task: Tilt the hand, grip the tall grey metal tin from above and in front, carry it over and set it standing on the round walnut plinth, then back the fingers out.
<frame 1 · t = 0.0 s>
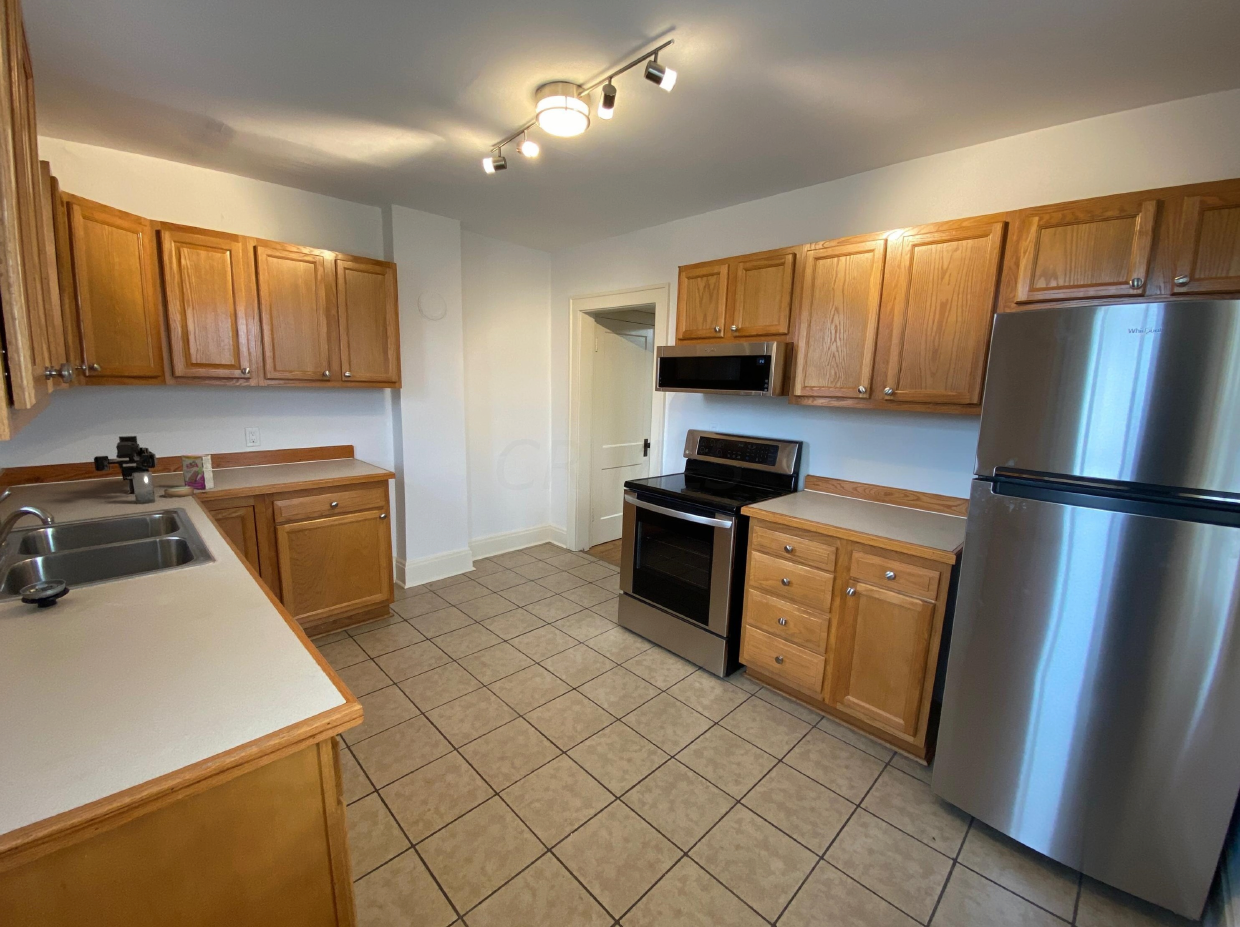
hand: (121, 465, 209), 17 cm above the counter, tool horizontal, fingers open, 9 cm apart
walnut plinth: (179, 495, 229), on the counter
grey tin: (145, 502, 215), on the counter
candy bar box: (199, 488, 244), on the counter
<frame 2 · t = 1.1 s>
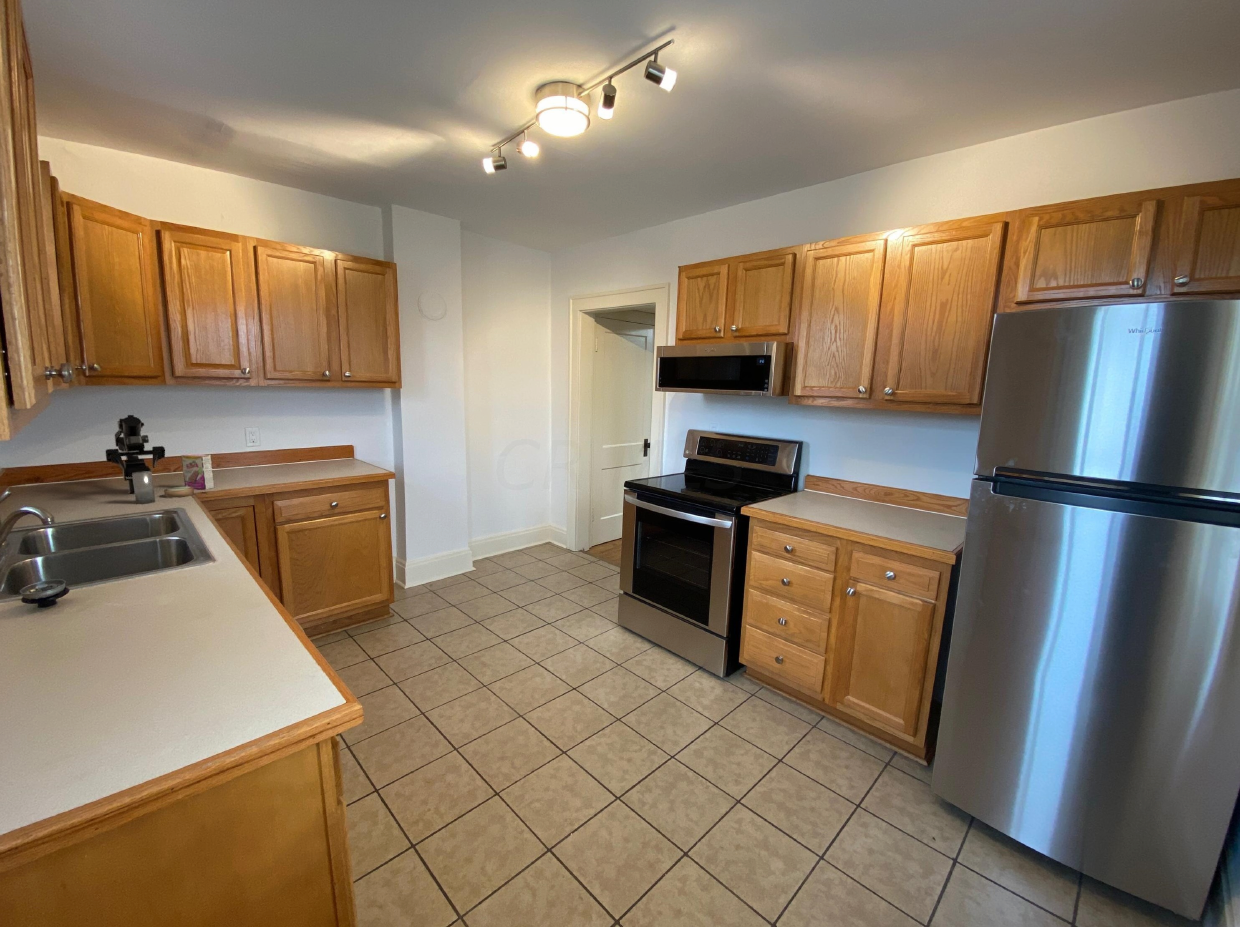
hand: (139, 468, 218), 14 cm above the counter, tool tilted 45°, fingers open, 9 cm apart
nothing on the counter moved.
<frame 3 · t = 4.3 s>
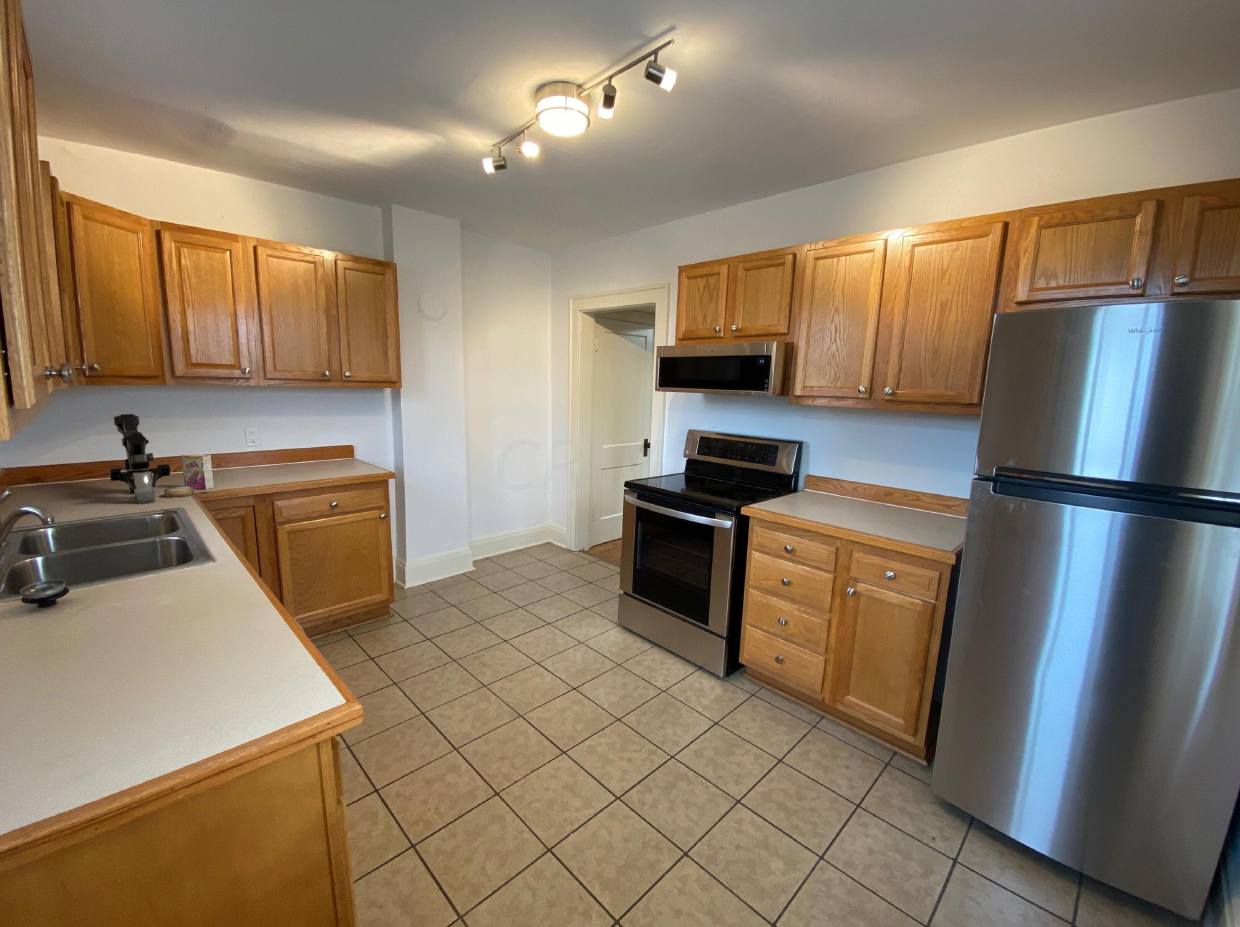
hand: (144, 487, 213), 7 cm above the counter, tool tilted 45°, fingers closed on grey tin, 6 cm apart
grey tin: (145, 502, 215), on the counter, touching gripper
everything else where it was.
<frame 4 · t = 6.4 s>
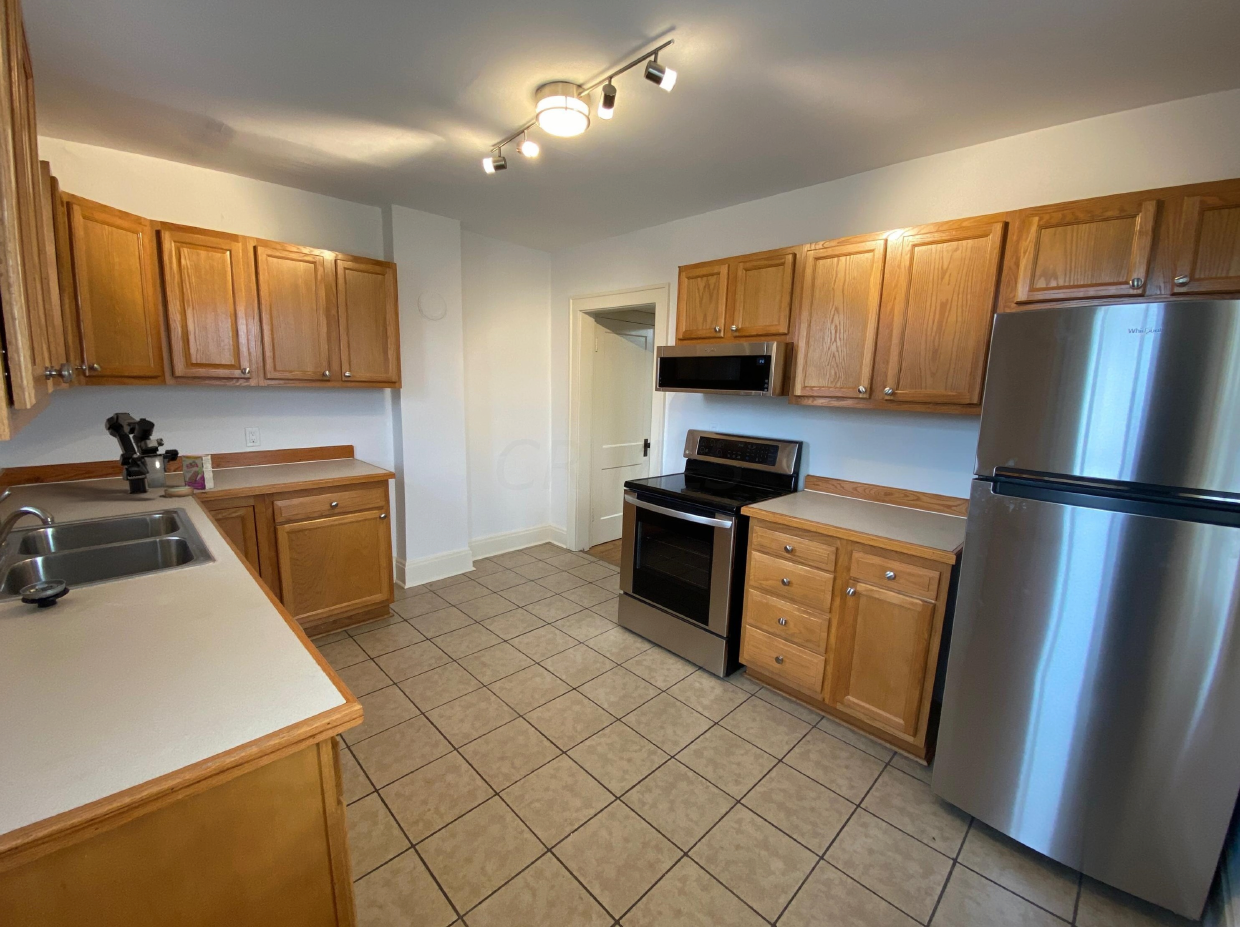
hand: (156, 472, 217), 12 cm above the counter, tool tilted 45°, fingers closed on grey tin, 6 cm apart
grey tin: (157, 486, 218), point 6 cm above the counter, touching gripper
everything else where it was.
when the fingers open (11 cm above the counter, at t = 8.9 s): grey tin drops 1 cm, resting on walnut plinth.
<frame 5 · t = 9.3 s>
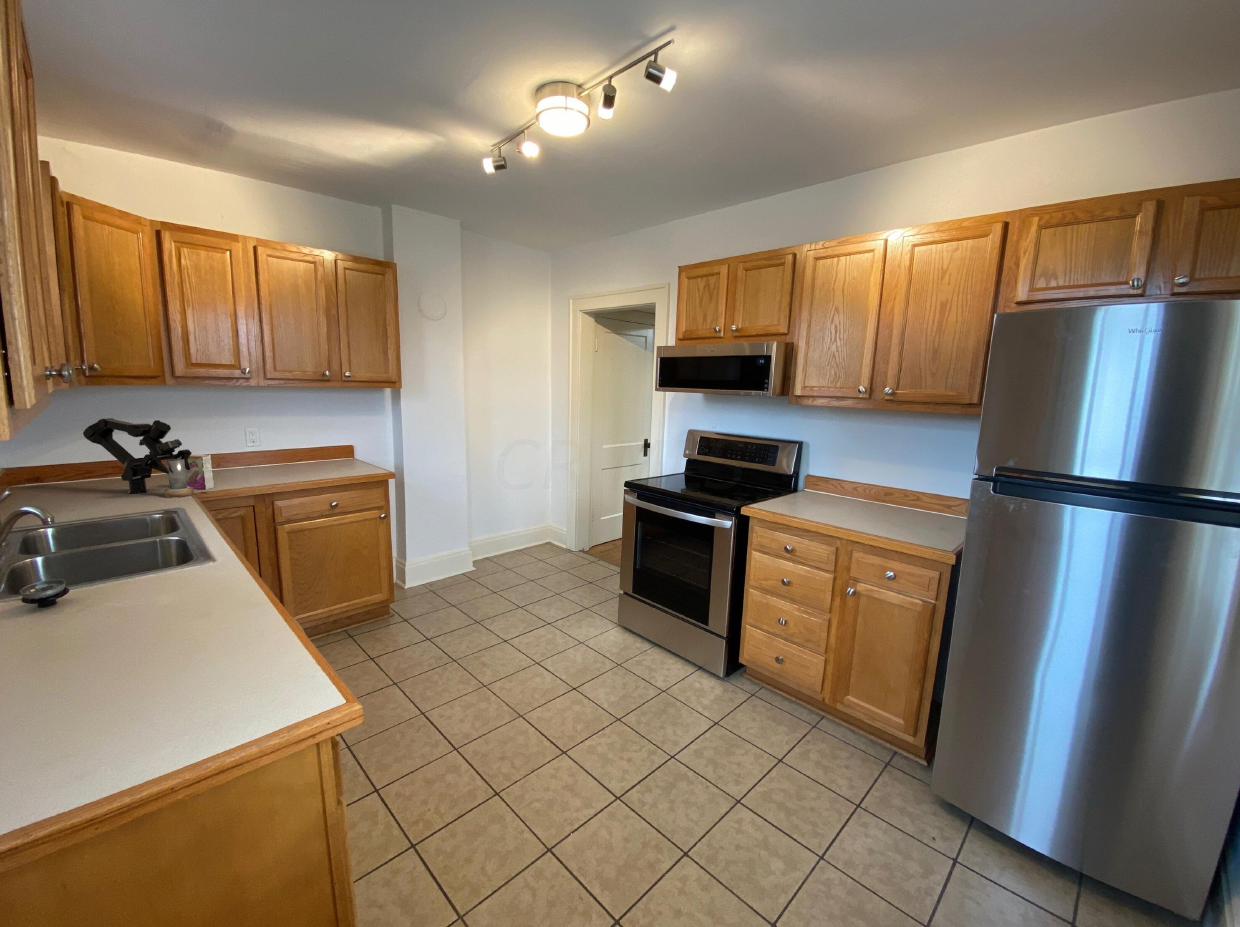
hand: (179, 471, 227), 11 cm above the counter, tool tilted 45°, fingers open, 9 cm apart
grey tin: (178, 488, 228), point 3 cm above the counter, touching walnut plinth
everything else where it was.
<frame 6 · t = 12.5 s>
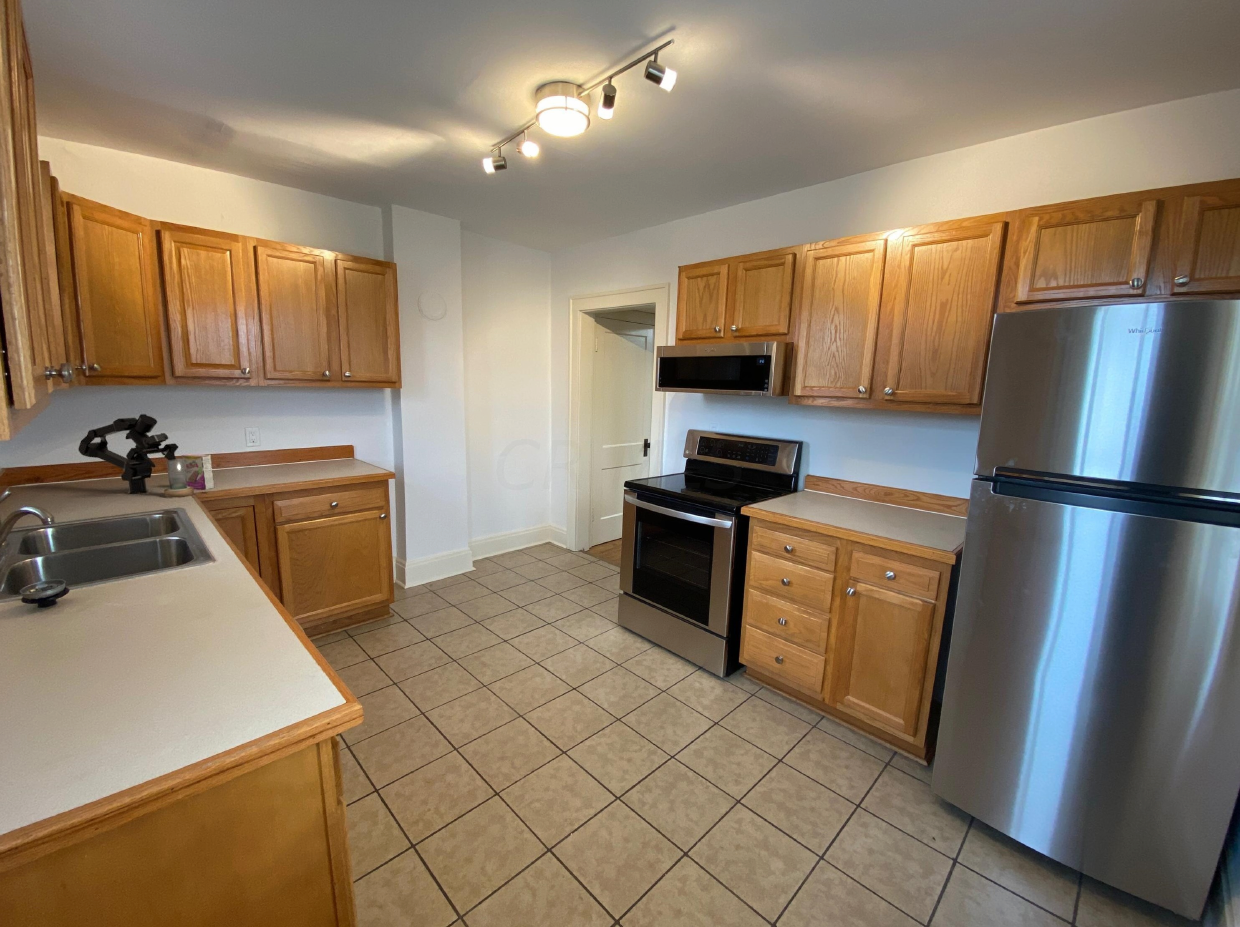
hand: (165, 465, 228), 14 cm above the counter, tool tilted 45°, fingers open, 9 cm apart
nothing on the counter moved.
at the end: grey tin 0.0 cm off-centre on the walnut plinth, point 3.2 cm above the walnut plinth's base; grey tin tilted 0°; the gripper is holding nothing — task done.
